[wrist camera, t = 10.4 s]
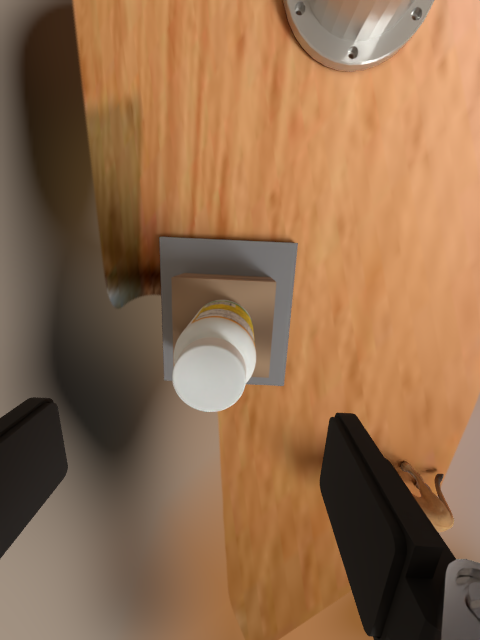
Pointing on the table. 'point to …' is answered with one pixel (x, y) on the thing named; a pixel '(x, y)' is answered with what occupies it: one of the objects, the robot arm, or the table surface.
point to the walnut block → (242, 290)
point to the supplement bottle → (214, 356)
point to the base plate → (232, 261)
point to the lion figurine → (432, 501)
